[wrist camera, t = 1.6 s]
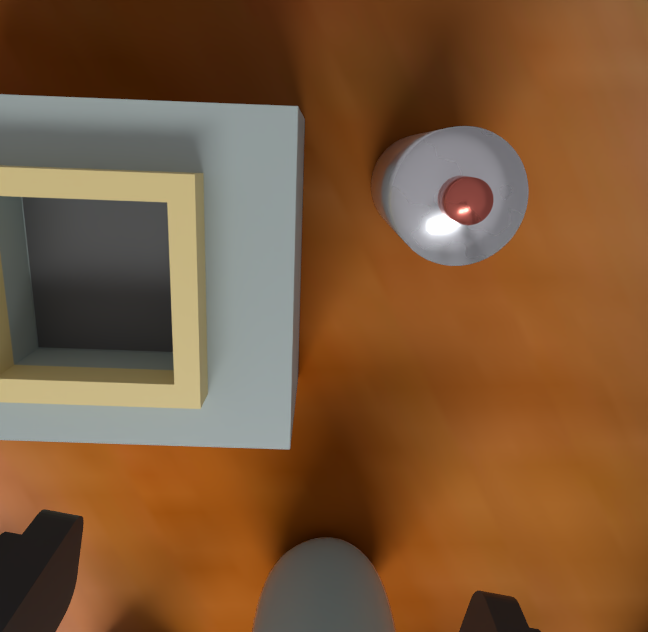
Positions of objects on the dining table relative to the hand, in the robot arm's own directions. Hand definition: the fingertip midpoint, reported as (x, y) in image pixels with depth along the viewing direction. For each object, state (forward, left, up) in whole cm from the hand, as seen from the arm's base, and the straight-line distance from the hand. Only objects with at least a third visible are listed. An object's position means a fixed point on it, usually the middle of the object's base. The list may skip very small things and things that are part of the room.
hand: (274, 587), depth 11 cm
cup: (-2, +17, -21) cm, 27 cm away
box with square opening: (+8, -3, -21) cm, 22 cm away
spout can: (-6, -7, -21) cm, 22 cm away
